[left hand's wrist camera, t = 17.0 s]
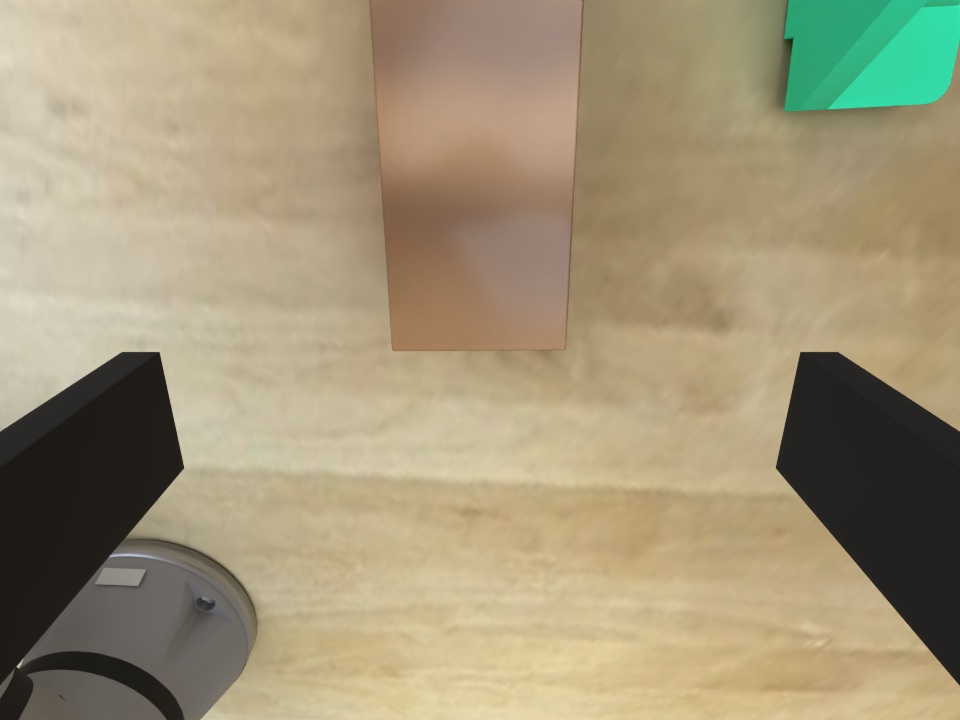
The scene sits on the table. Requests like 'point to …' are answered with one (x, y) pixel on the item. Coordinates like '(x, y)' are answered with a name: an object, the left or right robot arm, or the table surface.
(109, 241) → the table surface
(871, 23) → the camera mount
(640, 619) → the table surface
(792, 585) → the table surface
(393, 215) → the box
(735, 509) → the table surface
